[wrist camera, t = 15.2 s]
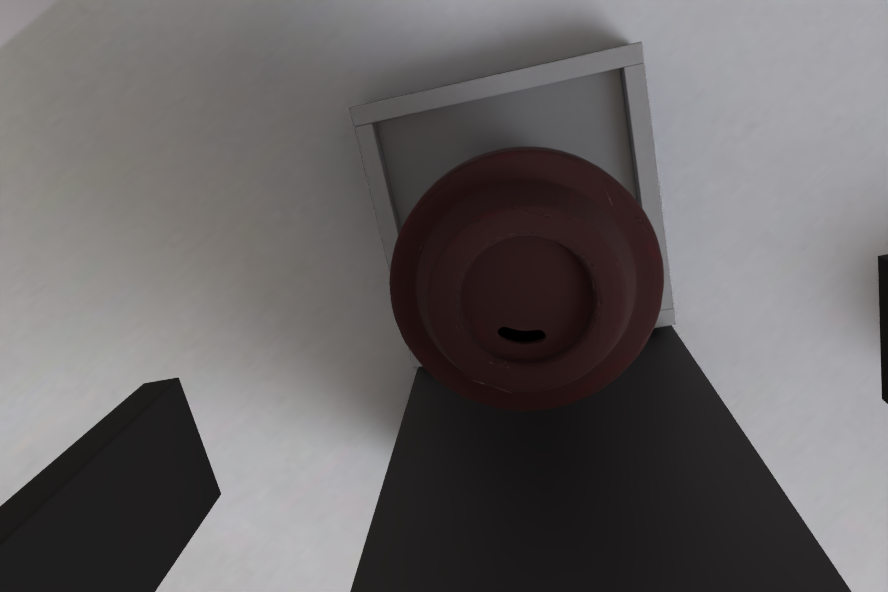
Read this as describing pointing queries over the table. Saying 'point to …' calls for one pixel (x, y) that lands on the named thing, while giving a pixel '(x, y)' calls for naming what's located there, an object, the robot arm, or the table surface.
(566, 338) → the coffee cup
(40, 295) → the table surface
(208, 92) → the table surface
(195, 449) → the robot arm
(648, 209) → the coffee machine
